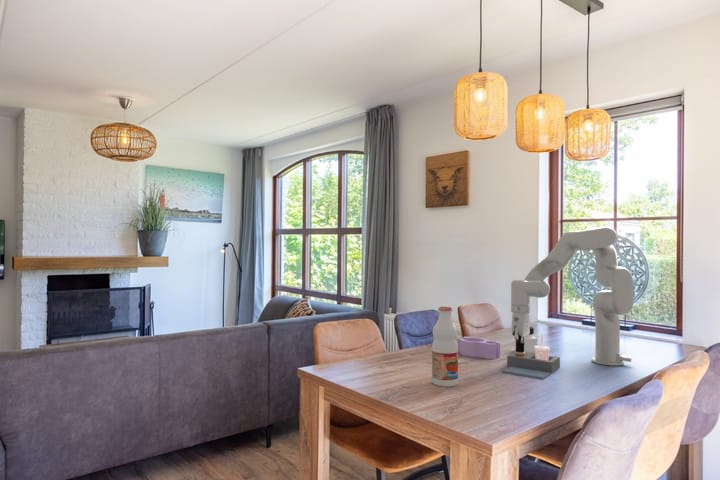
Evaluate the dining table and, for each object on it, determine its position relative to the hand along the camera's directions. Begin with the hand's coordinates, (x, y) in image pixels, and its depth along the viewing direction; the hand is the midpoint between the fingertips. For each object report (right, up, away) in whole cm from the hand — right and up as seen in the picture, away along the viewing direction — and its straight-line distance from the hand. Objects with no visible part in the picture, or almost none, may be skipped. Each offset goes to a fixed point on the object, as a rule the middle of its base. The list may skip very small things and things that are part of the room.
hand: (520, 351), depth 201 cm
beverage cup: (+7, -6, -6) cm, 11 cm away
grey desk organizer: (+4, -6, -3) cm, 8 cm away
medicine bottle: (+13, -7, +27) cm, 30 cm away
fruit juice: (-37, -5, -28) cm, 47 cm away
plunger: (0, -5, 0) cm, 5 cm away
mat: (-2, -6, -14) cm, 15 cm away
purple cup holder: (-13, -6, +19) cm, 24 cm away
